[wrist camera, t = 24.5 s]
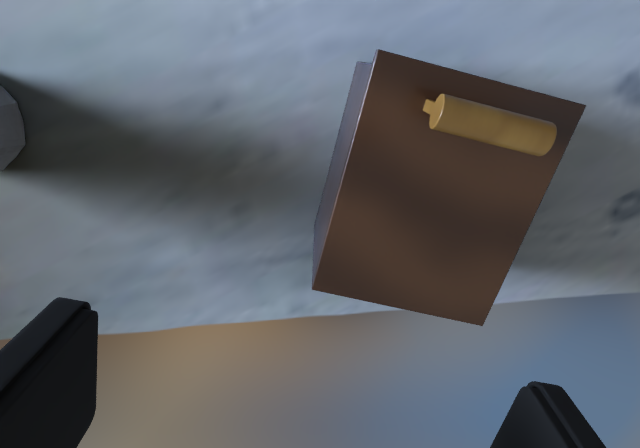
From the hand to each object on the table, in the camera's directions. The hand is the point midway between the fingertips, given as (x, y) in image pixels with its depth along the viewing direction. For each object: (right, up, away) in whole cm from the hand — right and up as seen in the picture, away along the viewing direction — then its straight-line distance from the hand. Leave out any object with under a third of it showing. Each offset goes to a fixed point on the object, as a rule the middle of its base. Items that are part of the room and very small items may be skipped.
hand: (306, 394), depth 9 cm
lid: (+8, +5, +18) cm, 20 cm away
